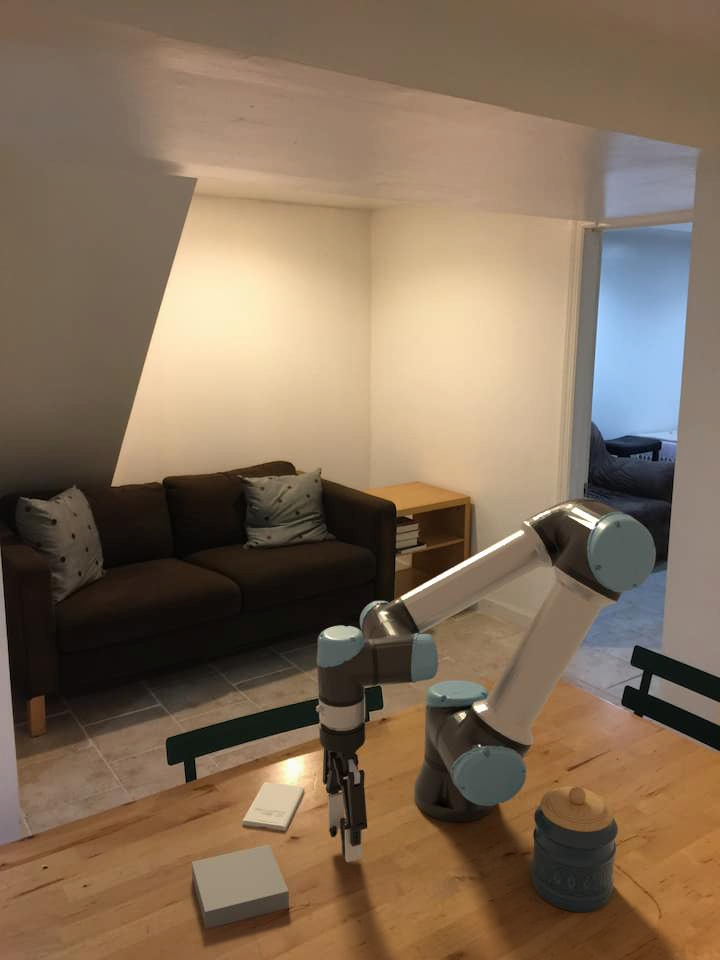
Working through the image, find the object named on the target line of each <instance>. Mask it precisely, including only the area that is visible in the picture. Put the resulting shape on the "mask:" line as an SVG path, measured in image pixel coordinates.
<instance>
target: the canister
mask: <svg viewBox="0 0 720 960" xmlns="http://www.w3.org/2000/svg"><path fill="white" fill-rule="evenodd" d="M533 820H534V823H535V827H534V829H533V832H532V833H533V834H532V836H533V846H532V847H533V849H532V850H533V851H532V861H531V863H530V864H531V865H530V874H531V875H530V876H531V880H532V886H533V888H534V889H535V891H536V892H537V894H538V895H539V896H540V897H541V898H542V899H543V900H545V901H546V902H547V903H549V904H551V905H552V906H555V907H557V908H558V909H562V910H565V911H569V912H577V913H585V912H587V913H588V912H592V911H596V910H598V909H601V908H603V907H604V906H605V905H606V904H608V902H609V900H610V898H611V895H612V893H613V888H614V883H615V882H614V866H615V865H614V864H615V855H616V851H617V844H616V841H615V839H616V838H617V836H618V833H619V832H618V831H619V826H618V823H617V821H616V819H615V817H614V810H613V808H612V806H611V804H609V803H608V801H607V800H606V799H605V798H603V797H601V796H600V795H598V794H596V792H593V791H591V790H589V789H586V788H583V787H580V786H563V787H558V788H554V789H551V790H550V791H548V792H546V793H545V794H543V796H542V797H541V799H540V804H539V805H538V806H537V807H536V809H535V810H534V816H533Z"/></svg>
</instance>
